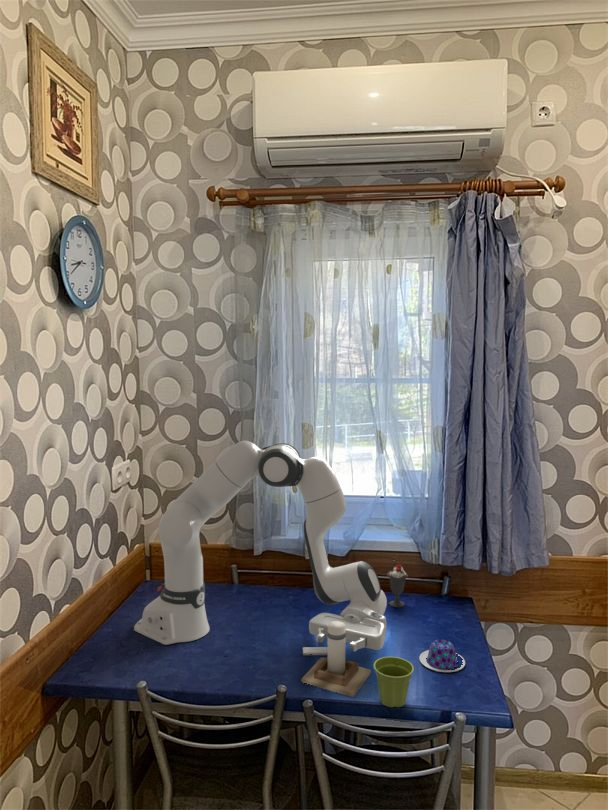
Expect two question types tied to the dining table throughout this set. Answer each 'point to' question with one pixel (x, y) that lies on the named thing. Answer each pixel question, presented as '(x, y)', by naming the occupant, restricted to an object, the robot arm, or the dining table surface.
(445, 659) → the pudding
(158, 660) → the dining table surface
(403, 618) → the dining table surface
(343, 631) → the grooved cream capsule
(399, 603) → the sundae
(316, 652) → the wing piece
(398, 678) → the plant pot
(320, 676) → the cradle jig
